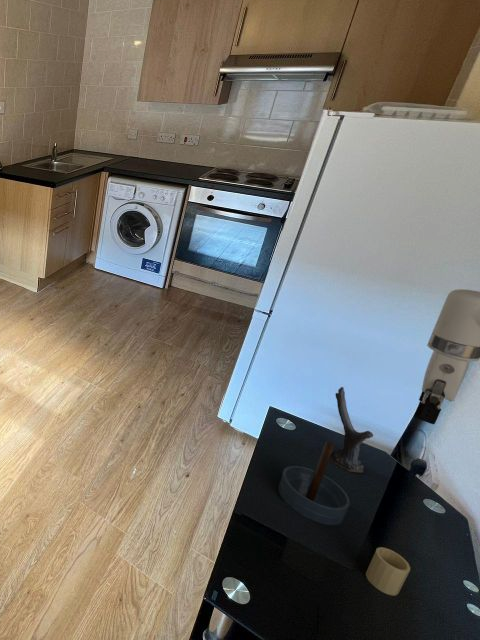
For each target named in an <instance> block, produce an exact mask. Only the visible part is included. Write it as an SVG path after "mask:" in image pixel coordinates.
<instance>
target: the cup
mask: <svg viewBox="0 0 480 640" xmlns="http://www.w3.org/2000/svg"><path fill="white" fill-rule="evenodd" d="M410 572H411V566H410V564H409V562H408V561H407V560H406V558H404V557H403V556H402V555H400V554H399V553H398V552H396V551H394V550H392V549H389V548H387V547H383V546H380V547H377V548H376V549H375V551H374V553H373V556H372V558H371V560H370V563H369V565H368V567H367V569H366V570H365V577H366V579H367V581H368V582H369V583H370V584H371V585H372V586H373V587H374V588H375V589H377V590H378V591H380V592H381V593H384V594H386V595H388V596H394V597H395V596H397V595H399V593H400V591H401V589H402V587H403V585H404V584H405V582H406V580H407V577H408V576H409V574H410Z"/></svg>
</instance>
